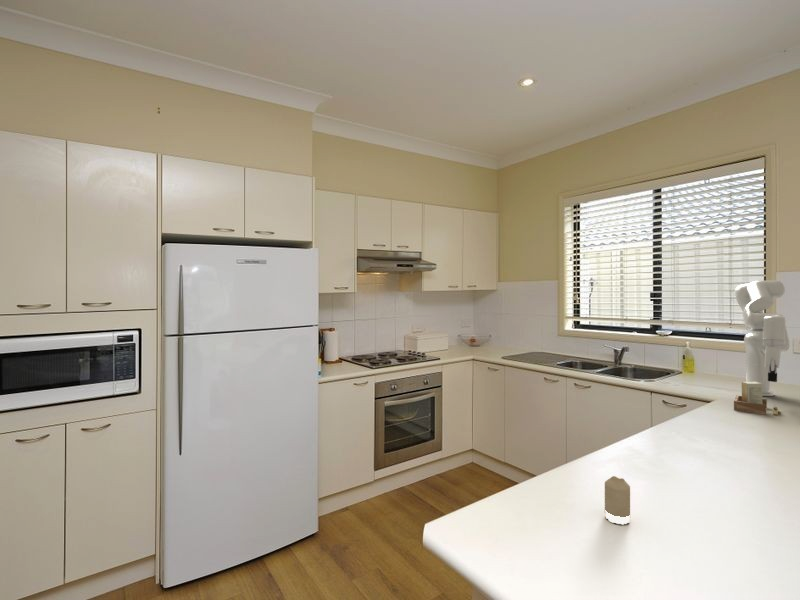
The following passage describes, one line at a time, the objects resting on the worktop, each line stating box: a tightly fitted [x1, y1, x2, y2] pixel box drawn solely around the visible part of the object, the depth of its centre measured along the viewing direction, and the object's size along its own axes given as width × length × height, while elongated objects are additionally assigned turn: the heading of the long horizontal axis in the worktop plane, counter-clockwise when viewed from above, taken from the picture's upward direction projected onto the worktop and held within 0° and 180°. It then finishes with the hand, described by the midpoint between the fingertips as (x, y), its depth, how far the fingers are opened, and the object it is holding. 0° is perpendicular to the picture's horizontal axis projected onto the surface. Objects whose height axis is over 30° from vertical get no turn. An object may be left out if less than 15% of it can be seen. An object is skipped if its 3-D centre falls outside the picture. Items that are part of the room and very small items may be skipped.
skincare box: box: [741, 381, 763, 404], centre depth 192 cm, size 6×4×12 cm
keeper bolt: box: [772, 405, 779, 416], centre depth 186 cm, size 9×2×3 cm, turn 138°
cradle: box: [733, 395, 768, 415], centre depth 192 cm, size 13×11×4 cm
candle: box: [604, 475, 631, 517], centre depth 103 cm, size 6×6×10 cm
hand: (772, 381), depth 197 cm, fingers closed
